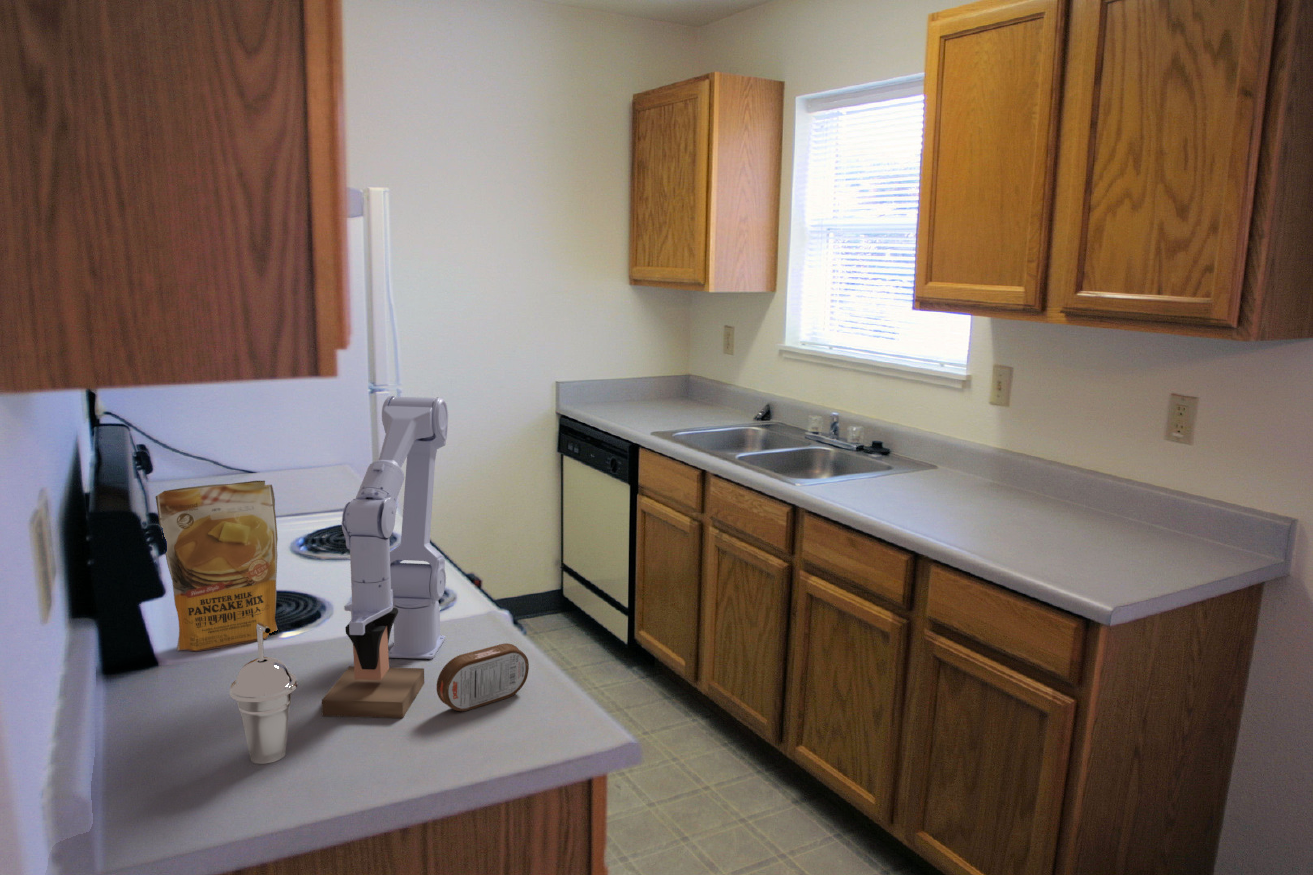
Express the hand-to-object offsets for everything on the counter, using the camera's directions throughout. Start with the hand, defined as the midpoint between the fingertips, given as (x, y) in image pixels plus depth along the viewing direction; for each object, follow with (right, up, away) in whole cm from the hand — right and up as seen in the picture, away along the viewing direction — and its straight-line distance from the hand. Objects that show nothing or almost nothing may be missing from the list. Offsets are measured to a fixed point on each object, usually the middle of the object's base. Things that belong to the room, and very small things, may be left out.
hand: (374, 662), depth 145 cm
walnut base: (0, -6, +1) cm, 6 cm away
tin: (+17, -7, +1) cm, 18 cm away
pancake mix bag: (-33, -2, +23) cm, 40 cm away
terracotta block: (0, -2, 0) cm, 2 cm away
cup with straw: (-10, -9, -16) cm, 21 cm away
